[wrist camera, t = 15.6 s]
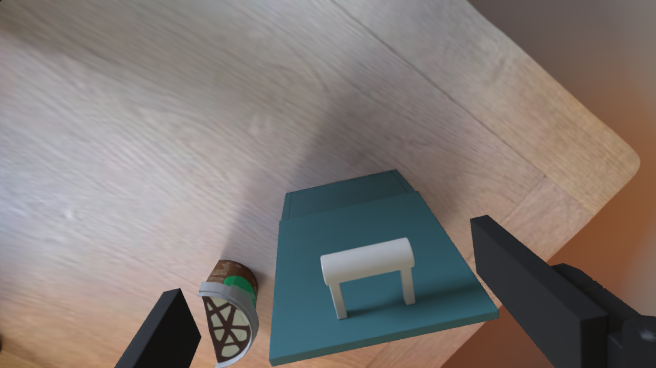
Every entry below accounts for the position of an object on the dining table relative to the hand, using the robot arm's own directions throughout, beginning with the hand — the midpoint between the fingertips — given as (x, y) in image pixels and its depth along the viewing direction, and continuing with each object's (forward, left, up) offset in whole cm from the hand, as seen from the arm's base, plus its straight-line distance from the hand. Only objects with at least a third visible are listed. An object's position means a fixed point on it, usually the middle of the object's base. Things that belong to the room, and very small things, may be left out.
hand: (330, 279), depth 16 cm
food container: (-15, -20, -34) cm, 42 cm away
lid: (+2, -8, -14) cm, 17 cm away
